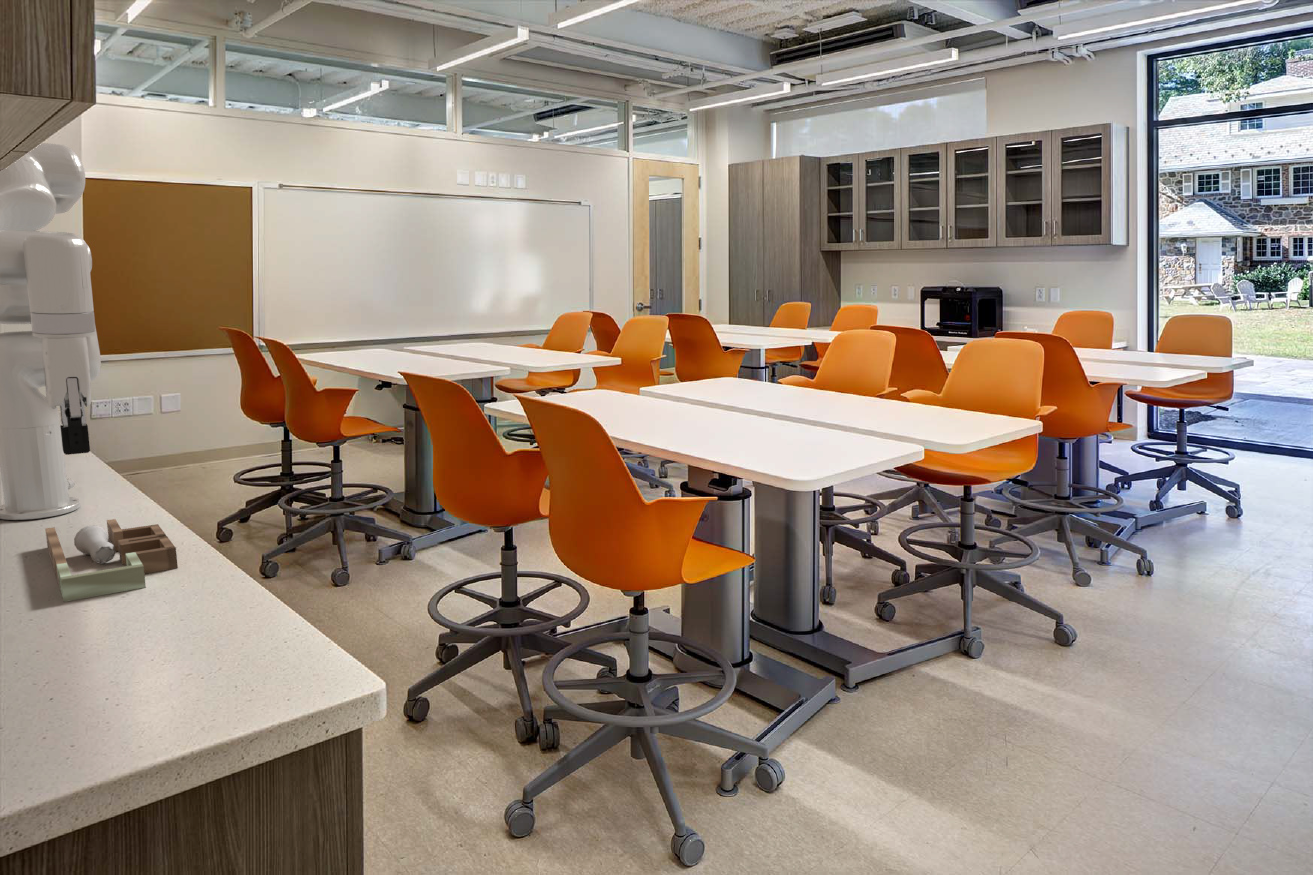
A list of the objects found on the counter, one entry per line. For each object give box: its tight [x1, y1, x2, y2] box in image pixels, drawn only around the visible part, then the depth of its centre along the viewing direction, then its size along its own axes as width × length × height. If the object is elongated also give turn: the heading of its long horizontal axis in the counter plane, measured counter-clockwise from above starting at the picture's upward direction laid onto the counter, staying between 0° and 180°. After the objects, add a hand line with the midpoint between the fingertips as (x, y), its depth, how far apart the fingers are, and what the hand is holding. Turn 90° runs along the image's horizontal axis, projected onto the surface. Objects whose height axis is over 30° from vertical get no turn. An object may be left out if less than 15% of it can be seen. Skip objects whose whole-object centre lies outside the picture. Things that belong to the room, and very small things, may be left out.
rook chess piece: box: [73, 525, 117, 564], centre depth 137 cm, size 4×4×8 cm
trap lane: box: [44, 518, 179, 602], centre depth 135 cm, size 29×14×3 cm, turn 37°
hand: (76, 452), depth 133 cm, fingers closed
